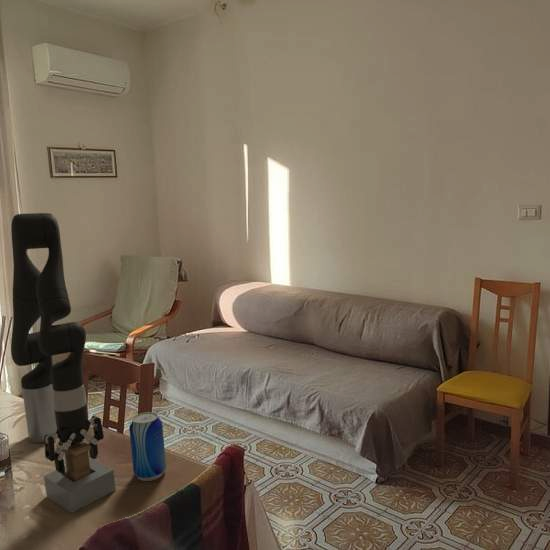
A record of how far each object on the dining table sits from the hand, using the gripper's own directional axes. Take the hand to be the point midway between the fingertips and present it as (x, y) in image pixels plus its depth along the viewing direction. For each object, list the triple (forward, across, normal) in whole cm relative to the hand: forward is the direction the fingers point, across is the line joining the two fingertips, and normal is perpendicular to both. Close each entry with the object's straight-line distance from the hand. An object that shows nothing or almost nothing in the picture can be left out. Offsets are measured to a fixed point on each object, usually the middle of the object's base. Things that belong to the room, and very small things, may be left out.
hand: (77, 465), depth 133 cm
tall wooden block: (+7, 0, 0) cm, 7 cm away
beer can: (+8, -16, +7) cm, 19 cm away
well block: (+8, 0, 0) cm, 8 cm away
